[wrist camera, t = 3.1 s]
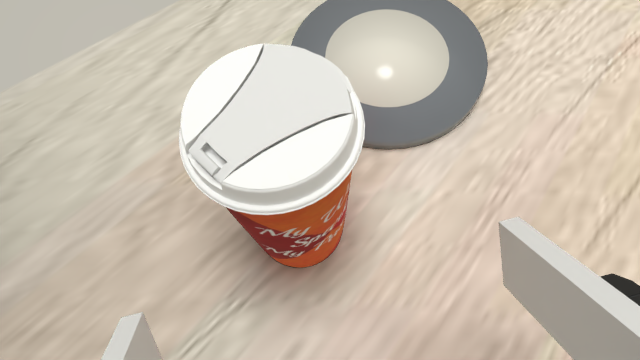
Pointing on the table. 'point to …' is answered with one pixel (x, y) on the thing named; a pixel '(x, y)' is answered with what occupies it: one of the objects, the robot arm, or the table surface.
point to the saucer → (401, 64)
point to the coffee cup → (275, 146)
